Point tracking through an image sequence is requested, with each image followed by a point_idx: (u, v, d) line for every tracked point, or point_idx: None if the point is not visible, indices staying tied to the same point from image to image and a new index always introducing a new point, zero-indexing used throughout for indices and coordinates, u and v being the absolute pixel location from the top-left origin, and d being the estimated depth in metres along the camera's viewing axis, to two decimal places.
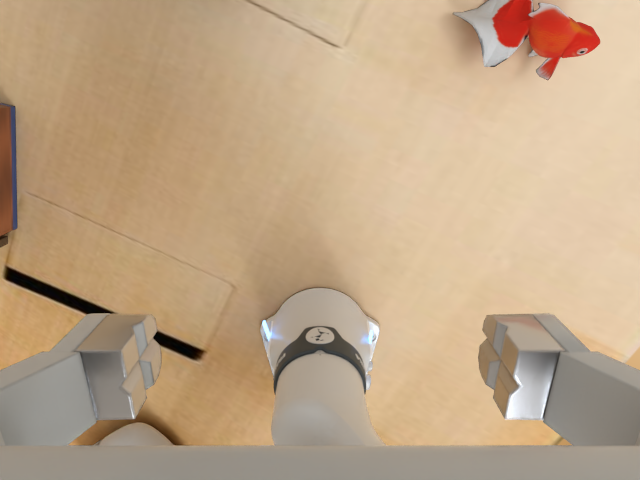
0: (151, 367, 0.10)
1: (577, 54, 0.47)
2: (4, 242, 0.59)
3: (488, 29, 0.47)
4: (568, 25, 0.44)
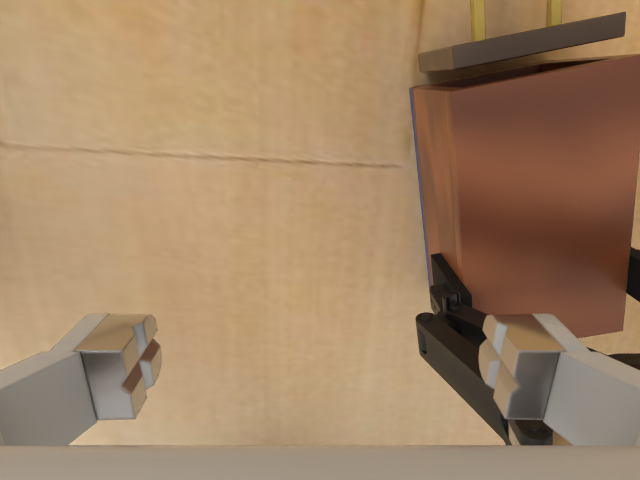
0: (151, 367, 0.10)
1: None
2: (421, 61, 0.29)
3: None
4: None
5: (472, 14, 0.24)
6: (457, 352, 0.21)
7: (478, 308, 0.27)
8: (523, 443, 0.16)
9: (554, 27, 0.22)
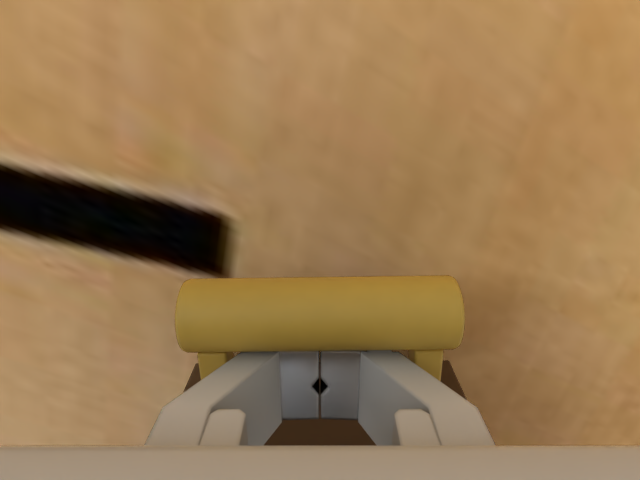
0: None
1: None
2: None
3: None
4: None
5: None
6: None
7: None
8: None
9: None
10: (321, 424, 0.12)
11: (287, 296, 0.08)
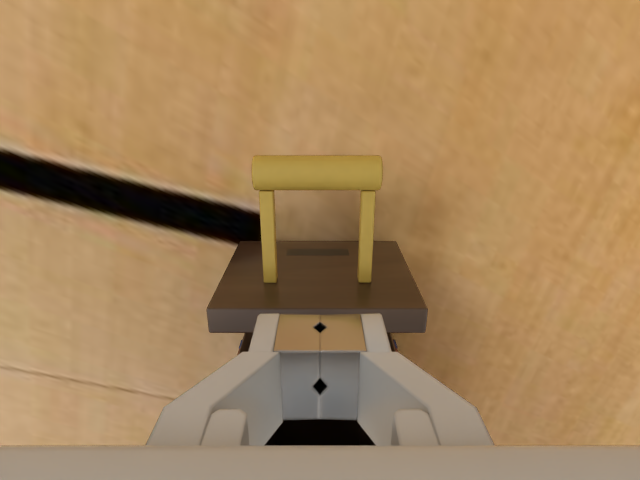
0: None
1: None
2: None
3: None
4: None
5: None
6: None
7: None
8: None
9: (337, 309, 0.17)
10: (317, 261, 0.22)
11: (302, 160, 0.17)
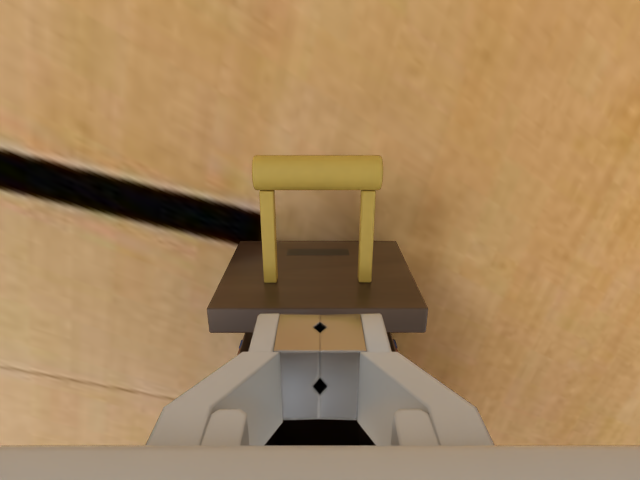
0: None
1: None
2: None
3: None
4: None
5: None
6: None
7: None
8: None
9: (338, 309, 0.17)
10: (317, 261, 0.22)
11: (303, 160, 0.17)
